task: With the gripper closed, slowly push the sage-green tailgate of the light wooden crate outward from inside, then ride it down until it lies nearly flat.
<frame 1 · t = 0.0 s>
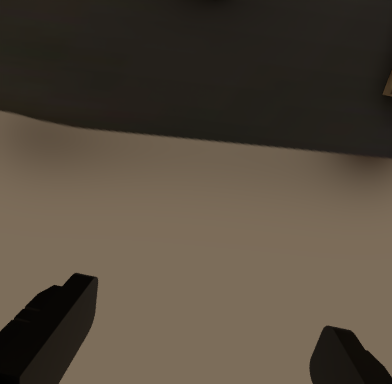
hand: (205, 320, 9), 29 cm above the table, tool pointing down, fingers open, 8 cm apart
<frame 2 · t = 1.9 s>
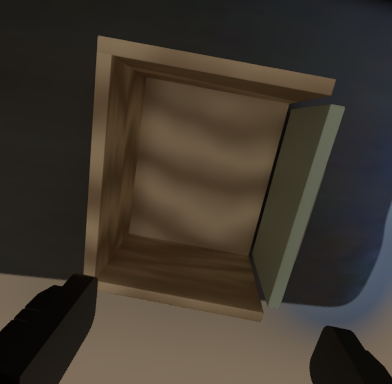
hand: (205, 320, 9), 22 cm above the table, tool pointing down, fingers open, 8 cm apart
tailgate: (288, 201, 24), point 6 cm above the table, hinge at 0.0°
crate: (198, 171, 30), on the table
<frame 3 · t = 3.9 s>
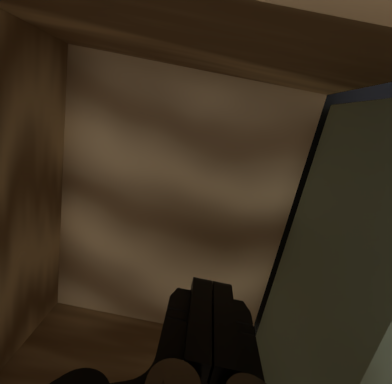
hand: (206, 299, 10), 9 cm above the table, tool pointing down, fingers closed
tailgate: (329, 283, 12), point 6 cm above the table, hinge at 0.0°
crate: (168, 205, 18), on the table
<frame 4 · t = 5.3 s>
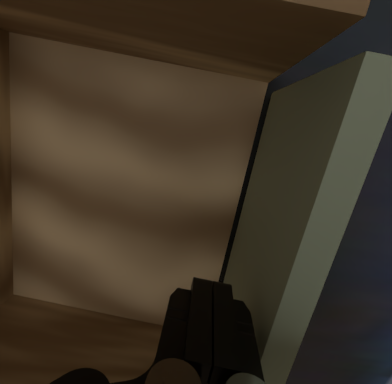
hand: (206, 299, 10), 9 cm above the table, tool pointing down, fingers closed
tailgate: (261, 271, 12), point 6 cm above the table, hinge at 0.6°, touching gripper
crate: (121, 196, 18), on the table
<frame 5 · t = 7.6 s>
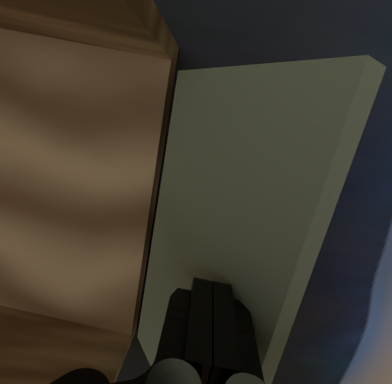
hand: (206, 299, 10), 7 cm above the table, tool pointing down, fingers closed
tailgate: (208, 264, 12), point 5 cm above the table, hinge at 38.0°, touching gripper
crate: (39, 187, 17), on the table
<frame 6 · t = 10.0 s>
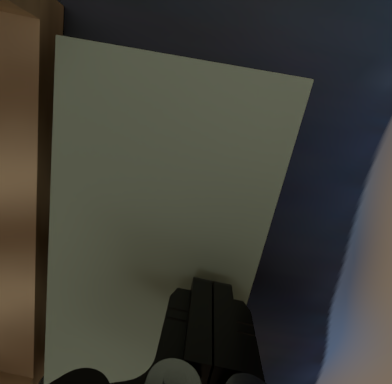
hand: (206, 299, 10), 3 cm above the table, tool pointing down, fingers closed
tailgate: (149, 263, 12), point 2 cm above the table, hinge at 83.3°
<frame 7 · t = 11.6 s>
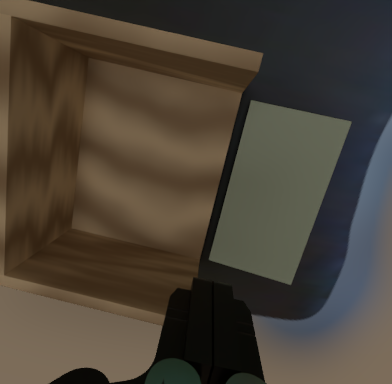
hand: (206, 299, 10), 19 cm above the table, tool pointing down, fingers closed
tailgate: (271, 196, 26), point 2 cm above the table, hinge at 83.3°
crate: (147, 163, 28), on the table
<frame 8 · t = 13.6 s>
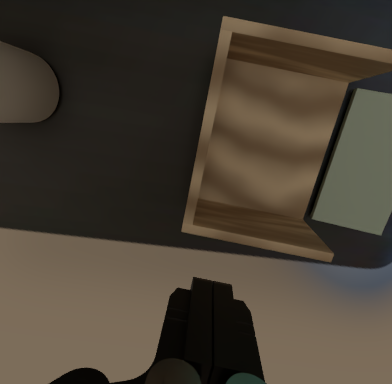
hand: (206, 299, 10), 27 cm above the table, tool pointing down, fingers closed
tailgate: (366, 165, 33), point 2 cm above the table, hinge at 83.3°
alcohol: (32, 88, 35), on the table
crate: (261, 143, 34), on the table
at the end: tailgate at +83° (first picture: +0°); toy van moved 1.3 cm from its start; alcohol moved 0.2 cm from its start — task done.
